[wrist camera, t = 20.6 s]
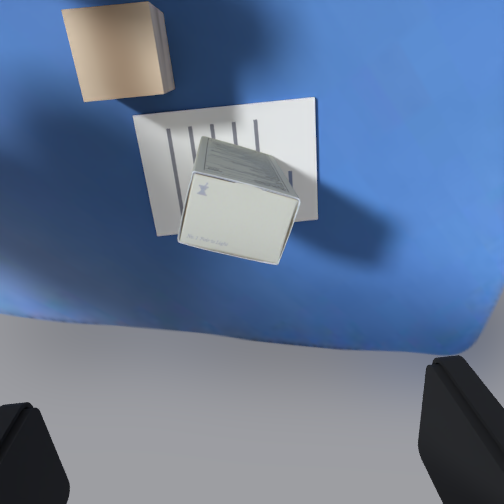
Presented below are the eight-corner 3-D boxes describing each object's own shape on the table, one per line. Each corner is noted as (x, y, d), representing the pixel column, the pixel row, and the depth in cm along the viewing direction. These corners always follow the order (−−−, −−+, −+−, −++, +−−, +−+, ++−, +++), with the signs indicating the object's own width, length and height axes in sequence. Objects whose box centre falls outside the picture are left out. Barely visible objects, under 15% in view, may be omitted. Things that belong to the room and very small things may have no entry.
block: (109, 95, 31) (83, 102, 26) (92, 19, 29) (61, 10, 24) (175, 88, 31) (163, 94, 26) (163, 12, 29) (148, 1, 24)
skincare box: (189, 185, 34) (170, 244, 23) (201, 131, 32) (188, 167, 21) (262, 204, 35) (278, 270, 24) (278, 154, 33) (303, 199, 22)
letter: (157, 235, 36) (157, 236, 36) (133, 115, 32) (132, 115, 32) (317, 218, 36) (318, 219, 36) (314, 97, 32) (314, 97, 32)
